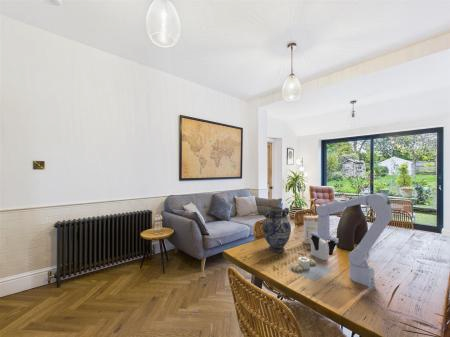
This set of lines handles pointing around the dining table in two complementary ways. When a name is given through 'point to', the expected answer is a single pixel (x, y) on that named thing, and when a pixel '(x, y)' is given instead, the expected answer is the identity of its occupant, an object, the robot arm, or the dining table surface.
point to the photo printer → (320, 250)
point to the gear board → (311, 270)
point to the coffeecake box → (310, 227)
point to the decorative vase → (276, 228)
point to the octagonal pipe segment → (304, 262)
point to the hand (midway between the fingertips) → (323, 252)
